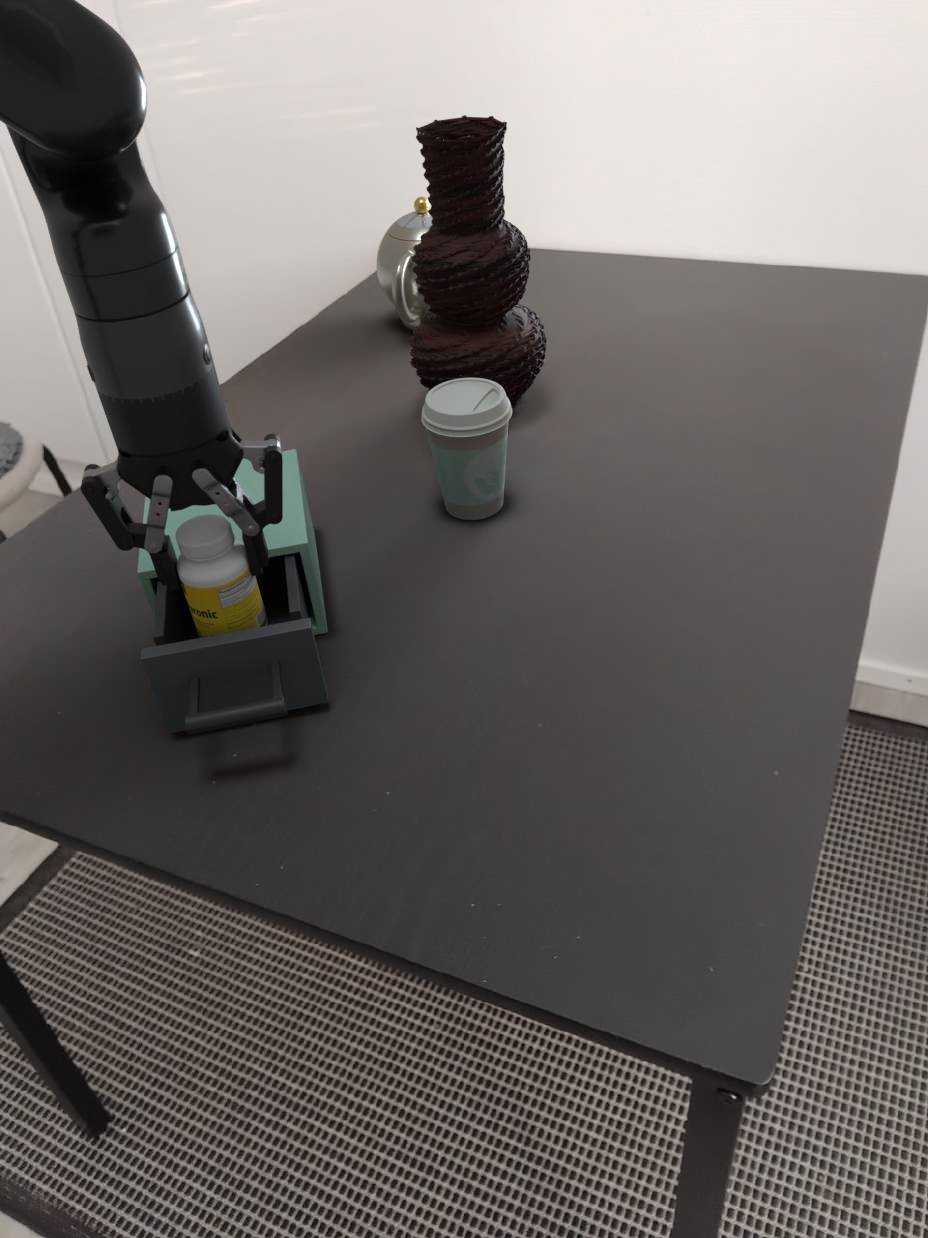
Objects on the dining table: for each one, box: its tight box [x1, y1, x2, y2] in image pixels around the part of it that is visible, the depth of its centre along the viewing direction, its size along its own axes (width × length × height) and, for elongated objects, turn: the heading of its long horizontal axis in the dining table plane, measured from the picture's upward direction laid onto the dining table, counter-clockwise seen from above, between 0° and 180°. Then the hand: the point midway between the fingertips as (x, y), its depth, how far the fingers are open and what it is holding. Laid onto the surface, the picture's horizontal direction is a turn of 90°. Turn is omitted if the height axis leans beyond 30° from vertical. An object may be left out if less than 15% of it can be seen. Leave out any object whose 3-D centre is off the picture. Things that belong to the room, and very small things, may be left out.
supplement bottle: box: [176, 514, 267, 638], centre depth 74 cm, size 5×5×10 cm
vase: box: [408, 114, 547, 413], centre depth 104 cm, size 15×15×30 cm
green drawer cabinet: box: [136, 448, 329, 636], centre depth 87 cm, size 16×14×10 cm
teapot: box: [376, 196, 440, 331], centre depth 128 cm, size 18×14×16 cm
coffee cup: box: [420, 378, 513, 521], centre depth 94 cm, size 8×8×12 cm
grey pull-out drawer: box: [140, 552, 330, 735], centre depth 77 cm, size 20×12×8 cm, turn 11°
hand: (217, 576), depth 73 cm, fingers closed on supplement bottle, 5 cm apart
